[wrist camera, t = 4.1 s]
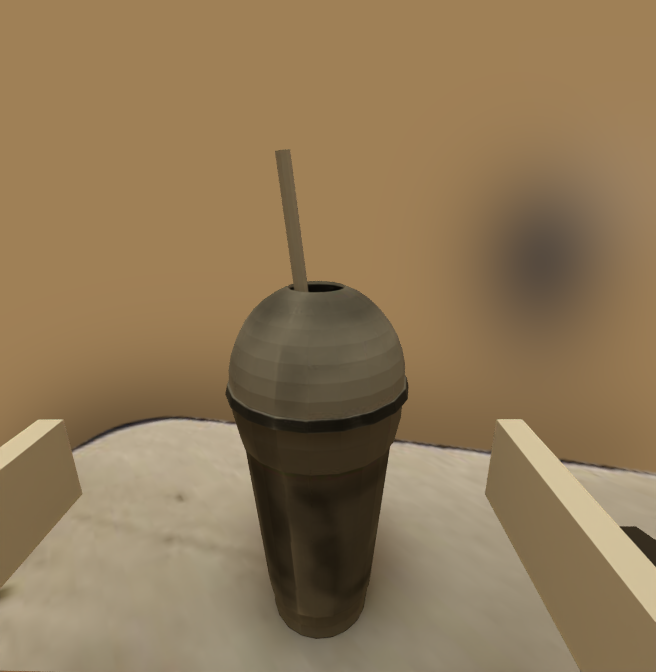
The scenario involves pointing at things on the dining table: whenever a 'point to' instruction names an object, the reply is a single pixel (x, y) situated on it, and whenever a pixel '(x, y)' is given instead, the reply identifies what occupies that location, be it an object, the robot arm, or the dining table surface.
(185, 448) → the dining table surface
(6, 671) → the board
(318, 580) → the beverage cup
